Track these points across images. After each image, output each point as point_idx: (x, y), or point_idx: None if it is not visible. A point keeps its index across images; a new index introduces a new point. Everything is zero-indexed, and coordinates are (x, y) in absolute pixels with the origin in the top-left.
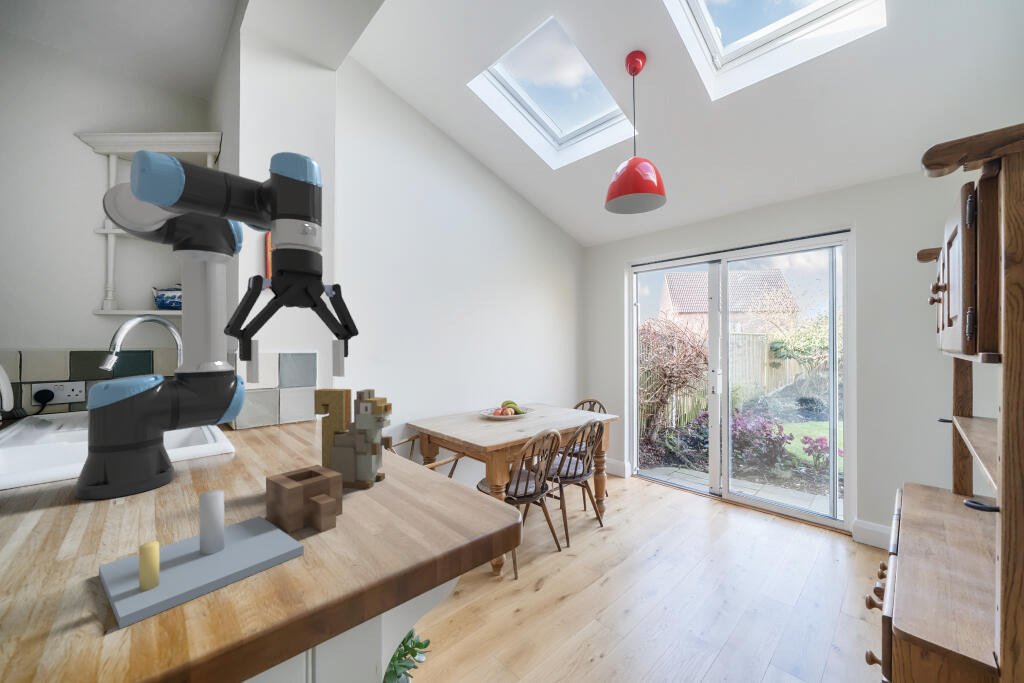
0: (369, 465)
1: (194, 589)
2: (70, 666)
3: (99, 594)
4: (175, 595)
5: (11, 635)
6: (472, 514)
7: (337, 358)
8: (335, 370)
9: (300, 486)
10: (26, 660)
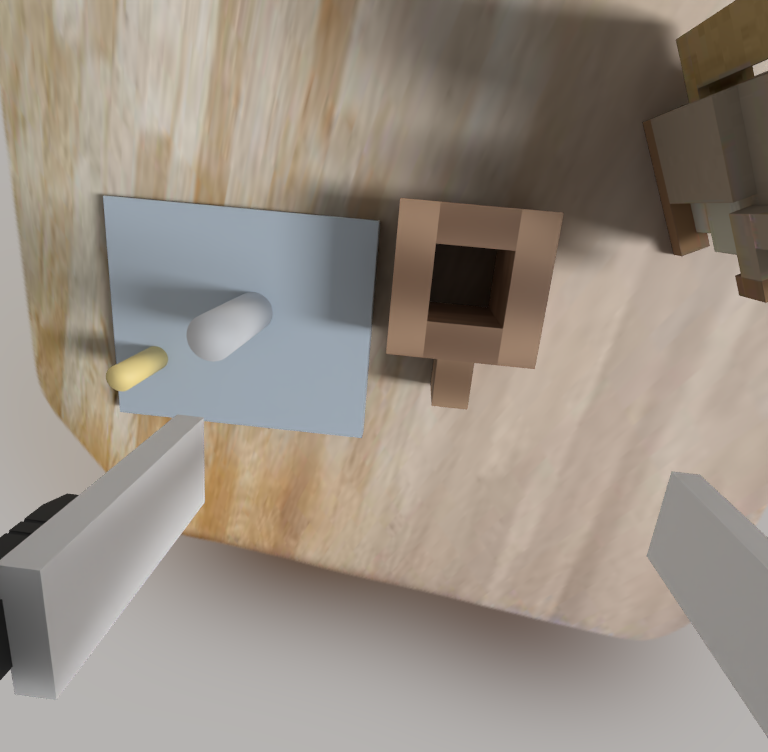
0: (726, 244)
1: None
2: (86, 436)
3: None
4: None
5: (29, 301)
6: (645, 572)
7: (719, 610)
8: (679, 527)
9: (416, 356)
10: (50, 382)
